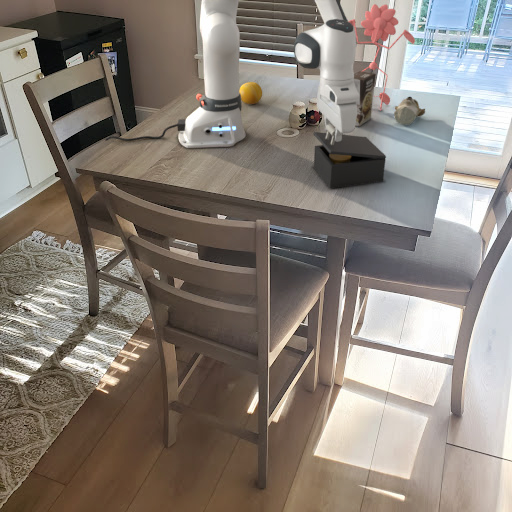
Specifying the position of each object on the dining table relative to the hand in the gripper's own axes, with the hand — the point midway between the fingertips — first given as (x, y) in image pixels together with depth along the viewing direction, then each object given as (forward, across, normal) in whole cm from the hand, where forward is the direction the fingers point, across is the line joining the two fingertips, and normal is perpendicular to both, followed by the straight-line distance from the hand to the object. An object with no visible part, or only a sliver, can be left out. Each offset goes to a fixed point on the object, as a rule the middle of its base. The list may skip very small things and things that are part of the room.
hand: (333, 136), depth 155 cm
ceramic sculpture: (+13, -34, +41) cm, 55 cm away
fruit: (+12, -66, -8) cm, 68 cm away
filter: (+12, -2, +3) cm, 12 cm away
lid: (+4, 0, +5) cm, 6 cm away
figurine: (+13, -53, +36) cm, 65 cm away
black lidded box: (+13, 0, +5) cm, 14 cm away
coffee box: (+13, -38, +24) cm, 47 cm away
